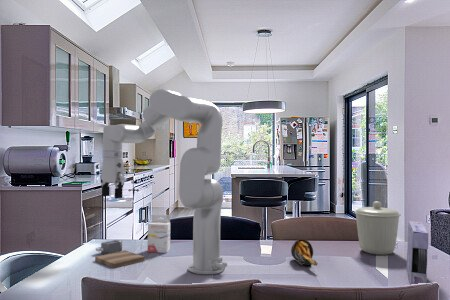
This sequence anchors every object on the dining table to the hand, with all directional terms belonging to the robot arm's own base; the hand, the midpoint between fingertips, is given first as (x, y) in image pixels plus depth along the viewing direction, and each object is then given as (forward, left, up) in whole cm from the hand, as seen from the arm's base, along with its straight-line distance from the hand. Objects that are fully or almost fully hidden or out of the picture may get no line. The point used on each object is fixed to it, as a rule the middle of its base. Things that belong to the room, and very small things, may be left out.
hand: (111, 197), depth 159 cm
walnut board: (-14, +5, -22) cm, 27 cm away
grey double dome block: (0, +1, -22) cm, 22 cm away
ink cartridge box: (-13, -14, -23) cm, 30 cm away
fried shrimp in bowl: (-67, -39, -23) cm, 81 cm away
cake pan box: (-102, -49, -23) cm, 116 cm away
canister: (-79, -76, -23) cm, 112 cm away
